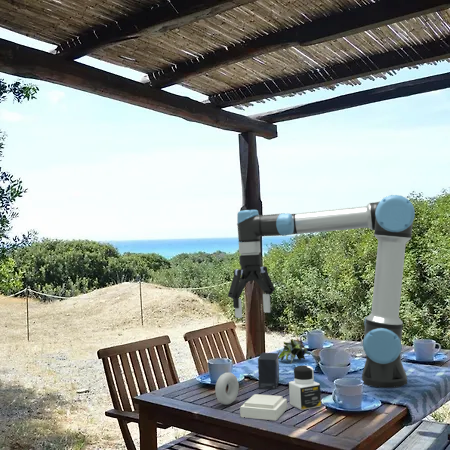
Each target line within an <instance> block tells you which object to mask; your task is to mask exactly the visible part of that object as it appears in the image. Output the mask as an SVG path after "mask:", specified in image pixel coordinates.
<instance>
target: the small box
mask: <svg viewBox="0 0 450 450" xmlns="http://www.w3.org/2000/svg"><path fill="white" fill-rule="evenodd" d="M278 357H279V355H278V352H261V353H260V355H259V357H258V359H257V369H258V371H257V373H258V389H259V390H261V389H264V390H267V389H268V390H276V389H277V387H278V385H279V383H280V366H279V365H280V364H279V360H280V359H278Z"/></svg>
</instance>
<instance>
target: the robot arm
mask: <svg viewBox="0 0 450 450" xmlns="http://www.w3.org/2000/svg"><path fill="white" fill-rule="evenodd" d="M415 215H416V212H415V207H414V205H413V203H412V201H410V200H409V198H407V197H406V196H403V195H399V194H391V195H388V196H384V197H383V198H382V199H381V200H380V201H375V202H369V203H368V204H367V205H366V206H356V207H347V208H338V209H337V208H336V209H328V210H326V209H325V210H318V211H308V212H298V213H284V212H283V213H275V214H259V210H257V209H244V210H239V211H238V212H237V223H236V225H237V237H238V253H239V254H240V255H239V256H238V257H239V260H238V261H239V265H240V268H239V269H238V268H237V269H236V268H235V269H234V270H233V277H232V281H231V284H230V287H229V290H228V294H227V297H228V298H230V299H232V303H233V304H232V306H233V309H234V316H235V317H234V318H237V319H238V318H239V319H243V307H242V298H241V295H242V294H243V291H244V289H245V287H246V286H247V284H248V283H249V282H253V281H255V282H256V284H258V286H259V287H260V289H261V290H262V292H263V293H262V304H263V313H272V312H271V302H272V298H271V297H272V296H271V295H273V293H274V292H275V290H276V289H275V286H274V283H273V282H272V279H271V277H270V275H269V272H268V267H267V266H261V265H262V256H261V254H260V253H261V239H260V237H279V236H283V237H284V236H285V237H286V236H291V235H298V234H299V235H301V234H302V235H303V234H311V233H313V234H314V233H322V232H332V231H345V230H353V229H354V230H355V229H366V228H367V229H370V230H371V231H374V234H373V235H374V237H375V238H376V239H377V248H376V249H377V251H376V262H375V273H374V281H373V282H374V283H373V291H372V302H371V303H372V304H371V312H370V314H369V315H367V316H366V317H365V318H364V323H363V326H364V336H363V340H362V348H363V352H364V353H365V358H366V360H365V363H364V367H363V371H362V374H361V381H362V380H363V381H364V383H363V384H364V385H366V386H369V387H375V388H384V389H385V388H386V389H387V388H388V389H390V388H391V389H392V388H400V387H403V386H405V385H408V377H407V373H406V370H405V368H404V366H403V363H402V359H401V357H402V356H401V353H402V349H403V345H402V336H403V325H404V322H403V320H402V319H401V318H400V317H399V316H400V307H401V306H400V305H401V295H402V284H403V276H404V275H403V274H404V265H405V254H406V244H407V243H408V242H409V241H411V240H412V234H413V226H414V225H413V224H414V220H415Z"/></svg>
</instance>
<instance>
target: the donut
mask: <svg viewBox="0 0 450 450" xmlns="http://www.w3.org/2000/svg"><path fill="white" fill-rule="evenodd" d="M227 386H228V388H227ZM239 389H240V385H239V381H238V377H237V376H236V375H235V374H234V373H232V372H230V371H229V372H224V373H222V374H220V376H219V377H218V378H217V380H216V383H215V391H214V392H215V396H216V399H217V401H218V402H219V403H220V404H222V405H225V406H227V405H231V404H232V403H234V402H235V400H236V399H237V396H238V393H239Z"/></svg>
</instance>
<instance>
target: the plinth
mask: <svg viewBox="0 0 450 450" xmlns="http://www.w3.org/2000/svg"><path fill="white" fill-rule="evenodd" d="M239 408H240V409H239V411H240V413H239V414H240V418H244V417H245V418H246V419H256V420H267V421H278V419H279V418H280V417H281V416H283V414H284V413H285V411H287V410H288V399H287V398H283V395H273V394H272V395H271V394H257V393H254V394H253V395H252V396H251V397H249V398H248V399H247V400H246V401H245V402H244V403H243V404H242V405H241V406H240V407H239Z"/></svg>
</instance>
